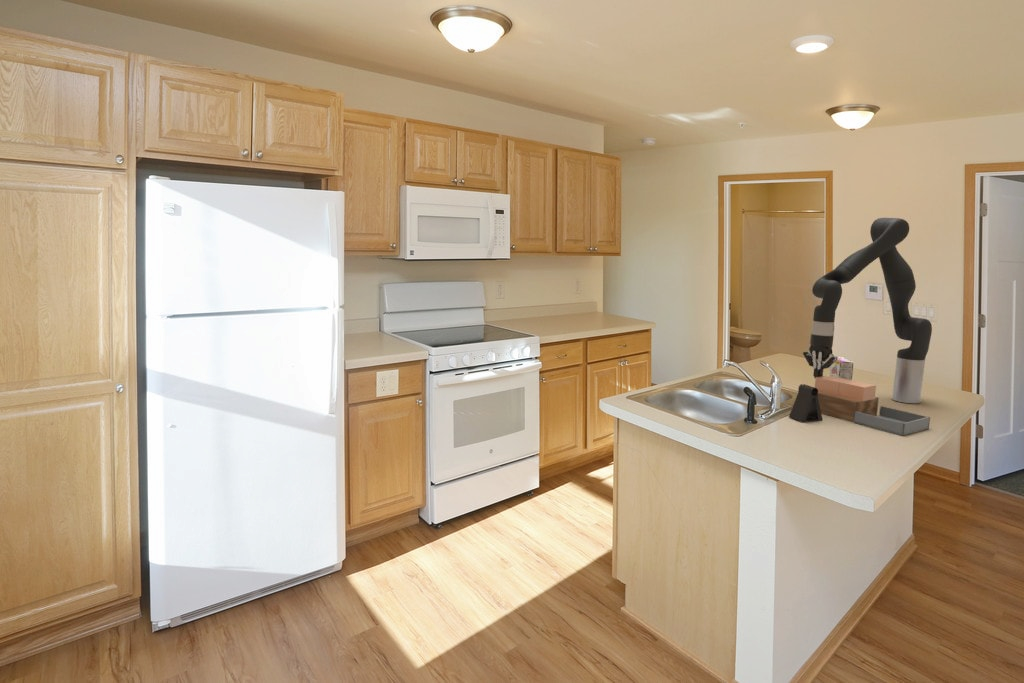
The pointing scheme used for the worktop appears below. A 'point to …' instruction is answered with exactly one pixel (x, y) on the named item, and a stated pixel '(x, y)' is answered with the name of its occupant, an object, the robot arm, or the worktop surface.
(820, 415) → the phone stand
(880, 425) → the tray
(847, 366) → the candy bar box
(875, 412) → the brown wooden block
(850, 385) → the tile front
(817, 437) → the worktop surface
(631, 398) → the worktop surface
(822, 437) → the worktop surface
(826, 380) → the pink rectangular block
